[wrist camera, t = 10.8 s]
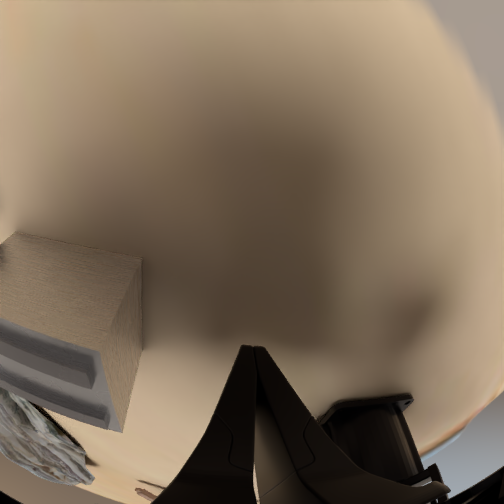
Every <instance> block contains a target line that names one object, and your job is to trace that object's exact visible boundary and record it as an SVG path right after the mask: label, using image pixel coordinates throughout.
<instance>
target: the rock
mask: <svg viewBox="0 0 504 504" xmlns="http://www.w3.org/2000/svg"><path fill="white" fill-rule="evenodd" d="M0 451H1V452H2V453H3V454H4V455H5V456H6V458H8V459H9V460H11V461H13V462H14V463H16V464H18V465H20V466H22V467H23V468H25V469H27V470H29V471H30V472H32V473H33V474H35V475H36V476H38V477H40V478H43V479H46V480H49V481H52V482H56V483H62V484H67V485H77V484H79V483H83V484H85V485H90V484H92V482H93V480H94V479H95V477H94V476H93V475H92V474H91V473H90V472H89V470H88V469H87V468H86V466H85V457H84V456H85V454H86V452H84V451H83V448H81V447H80V446H79V445H77V444H75V443H72V442H71V440H70V439H69V438H68V437H67V436H66V435H65V434H64V433H63V432H62V431H61V430H60V429H59V428H58V427H56V426H55V425H54V424H53V423H52V422H51V421H49V420H48V419H47V418H46V417H45V416H43V415H42V414H41V413H40V412H39V411H38V410H37V409H35V408H34V406H33V405H32V404H30V403H29V402H28V401H27V400H25V399H23V398H21V397H19V396H17V395H15V394H13V393H11V392H9V391H7V390H5V389H3V388H2V387H0Z"/></svg>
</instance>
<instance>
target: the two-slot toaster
mask: <svg viewBox="0 0 504 504" xmlns="http://www.w3.org/2000/svg"><path fill="white" fill-rule="evenodd" d="M141 293H142V258H141V257H136V256H130V255H125V254H120V253H115V252H110V251H105V250H100V249H95V248H90V247H85V246H80V245H75V244H70V243H66V242H61V241H56V240H51V239H47V238H42V237H38V236H33V235H28V234H24V233H19V232H14V233H13V234H12V235H11V236H10V237H8V238H7V239H6V240H5V241H4V242H3V243H2V244H0V387H2V388H3V389H5V390H7V391H9V392H11V393H13V394H15V395H17V396H19V397H21V398H23V399H25V400H28V401H30V402H32V403H34V404H37V405H39V406H41V407H44V408H46V409H48V410H51V411H53V412H56V413H58V414H61V415H64V416H66V417H69V418H72V419H75V420H78V421H81V422H84V423H87V424H90V425H93V426H96V427H100V428H103V429H107V430H108V429H109V430H113V431H117V432H121V433H123V428H124V424H125V419H126V415H127V410H128V406H129V402H130V397H131V393H132V389H133V385H134V381H135V377H136V373H137V370H138V366H139V362H140V358H141V355H142V351H143V345H142V307H141Z"/></svg>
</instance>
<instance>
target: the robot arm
mask: <svg viewBox="0 0 504 504" xmlns="http://www.w3.org/2000/svg"><path fill="white" fill-rule="evenodd" d="M413 401H414V399H413V397H412V395H403V396H397V397H390V398H382V399H373V400H364V401H353V402H342V403H338V404H336V405H334V406H333V407H332V408H331V410H330V411H329V412H328V413H327V414H326V416H325V417H324V418H323V419H322V420H321V422H320V423H319V424H318V423H317V421H316V420H315V419H314V417H313V416H311V413H310V412H309V410H308V409H307V408H306V406H305V405H304V403H303V402H302V401H301V399H300V398H299V396H298V395H297V394H296V392H295V391H294V389H293V388H292V386H291V385H290V384H289V382H288V381H287V379H286V378H285V376H284V375H283V373H282V372H281V371H280V369H279V368H278V366H277V365H276V363H275V362H274V360H273V359H272V357H271V356H270V354H269V353H268V351H267V350H266V348H265V347H262V346H253V347H252V346H251V345H241V347H240V350H239V352H238V355H237V357H236V360H235V362H234V365H233V367H232V370H231V372H230V375H229V377H228V379H227V382H226V384H225V387H224V389H223V392H222V394H221V397H220V399H219V401H218V404H217V406H216V409H215V411H214V414H213V415H212V418H211V420H210V423H209V425H208V427H207V429H206V431H205V433H204V435H203V436H202V438H201V440H200V442H199V443H198V445H197V446H196V448H195V449H194V451H193V452H192V454H191V455H190V457H189V458H188V460H187V461H186V463H185V464H184V466H183V467H182V469H181V470H180V472H179V473H178V474H177V476H176V477H175V478H174V480H173V481H172V482H171V483H170V484H169V485H168V486H167V487H166V488H165V489H164V490H163V491H162V492H161V493H160V494H159V495H158V496H157V497H156V499H155V500H154V501H153V502H151V503H150V504H257V501H256V496H255V492H254V487H253V469H254V464H255V472H256V479H257V487H258V494H259V498H260V499H259V502H260V504H504V466H503V467H501V468H500V469H498V470H497V471H495V472H494V473H493V474H491V475H489V476H488V477H486V478H485V479H483V480H481V481H480V482H478V483H477V484H475V485H473V486H472V487H470V488H468V489H467V490H465V491H463V492H461V493H459V494H457V495H455V496H453V497H452V498H450V499H449V498H448V495H447V493H449V492H450V491H451V490H450V489H449V488H448V487H447V486H446V485H444V483H443V480H442V477H441V474H440V472H439V469H438V467H437V465H436V463H434V464H432V465H431V466H429V467H428V469H426V470H424V468H423V465H422V462H421V459H420V457H419V454H418V451H417V448H416V446H415V443H414V440H413V438H412V435H411V433H410V430H409V428H408V425H407V423H406V420H405V418H404V415H403V413H402V412H403V411H404V410H405V409H406V408H407V407H408V406H409V405H410V404H411V403H412V402H413ZM430 481H432V482H431V483H429V484H427V485H424V484H426V483H428V482H430ZM422 485H424V486H422ZM436 499H437V500H438V503H437V501H436ZM0 504H23V503H21V502H19V501H17V500H16V499H14V498H12V497H10V496H9V495H7V494H5V493H4V492H2V491H0Z"/></svg>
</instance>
